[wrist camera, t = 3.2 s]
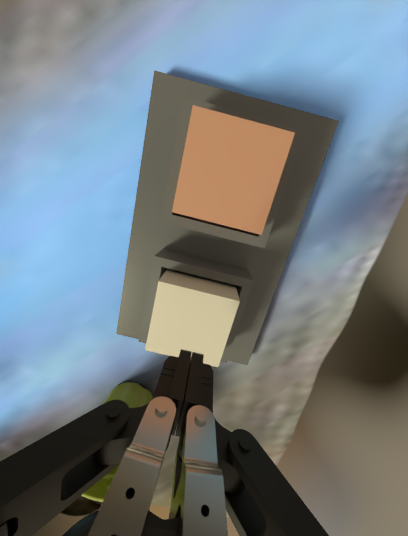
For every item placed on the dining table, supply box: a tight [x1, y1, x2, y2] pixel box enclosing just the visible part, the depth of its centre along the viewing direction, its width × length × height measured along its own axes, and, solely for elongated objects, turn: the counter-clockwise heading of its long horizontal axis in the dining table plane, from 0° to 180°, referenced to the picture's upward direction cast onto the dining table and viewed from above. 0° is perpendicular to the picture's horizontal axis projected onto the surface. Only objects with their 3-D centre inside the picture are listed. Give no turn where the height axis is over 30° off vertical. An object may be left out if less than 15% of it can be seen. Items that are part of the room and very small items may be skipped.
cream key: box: [145, 270, 240, 367], centre depth 19 cm, size 7×7×3 cm
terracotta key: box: [172, 105, 295, 235], centre depth 16 cm, size 7×7×3 cm
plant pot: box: [82, 382, 153, 502], centre depth 26 cm, size 9×9×9 cm
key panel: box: [117, 71, 339, 365], centre depth 21 cm, size 16×26×5 cm, turn 166°
